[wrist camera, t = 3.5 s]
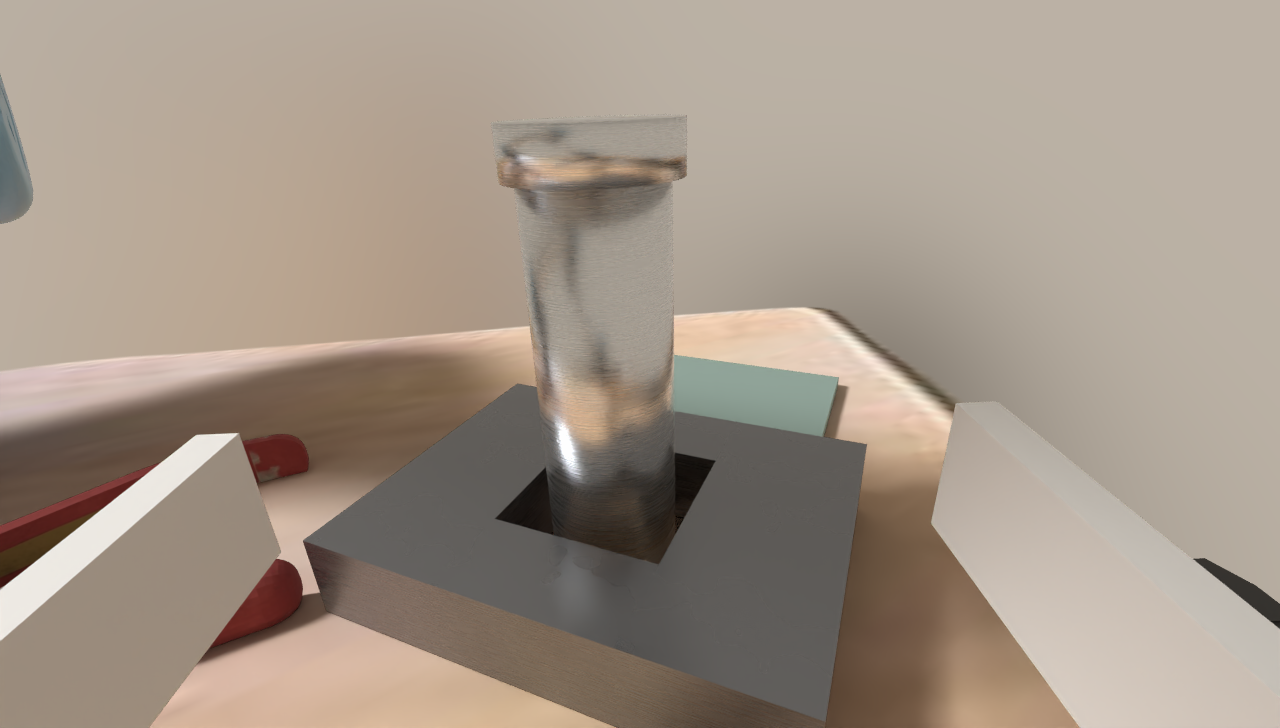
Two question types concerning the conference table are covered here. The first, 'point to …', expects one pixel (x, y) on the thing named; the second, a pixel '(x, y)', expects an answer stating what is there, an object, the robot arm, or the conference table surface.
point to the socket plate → (613, 573)
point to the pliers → (37, 533)
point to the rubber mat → (754, 394)
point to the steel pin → (601, 316)
